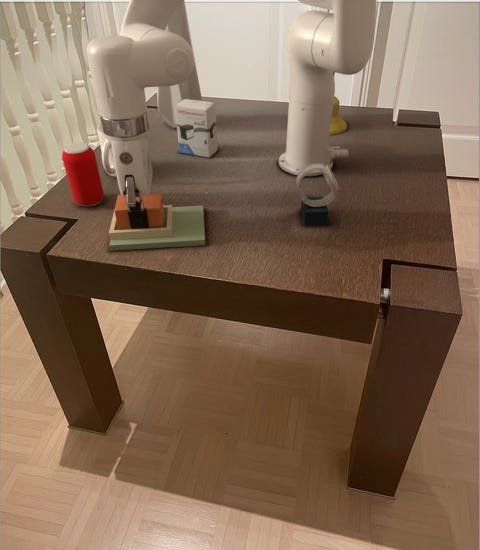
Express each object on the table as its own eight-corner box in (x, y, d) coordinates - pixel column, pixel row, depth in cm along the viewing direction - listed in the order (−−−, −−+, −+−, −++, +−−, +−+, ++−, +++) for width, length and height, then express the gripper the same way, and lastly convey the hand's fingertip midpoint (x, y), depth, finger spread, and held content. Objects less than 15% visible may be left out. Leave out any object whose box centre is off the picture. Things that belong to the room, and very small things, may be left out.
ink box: (178, 152, 113) (173, 105, 105) (187, 145, 116) (183, 98, 109) (209, 158, 110) (207, 109, 103) (218, 150, 114) (216, 102, 106)
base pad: (203, 210, 92) (202, 198, 90) (205, 245, 83) (204, 232, 81) (118, 215, 91) (115, 203, 89) (110, 250, 82) (107, 238, 80)
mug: (125, 188, 99) (117, 143, 93) (91, 184, 101) (80, 139, 94) (147, 164, 108) (141, 121, 102) (116, 160, 110) (107, 118, 103)
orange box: (163, 211, 88) (161, 192, 85) (162, 227, 83) (160, 208, 81) (121, 213, 87) (117, 194, 84) (118, 229, 83) (114, 210, 80)
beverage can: (85, 212, 92) (70, 156, 84) (69, 202, 95) (53, 147, 87) (111, 201, 95) (99, 146, 88) (94, 191, 98) (81, 137, 91)
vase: (201, 131, 123) (192, -11, 102) (159, 132, 123) (141, -11, 102) (205, 115, 132) (197, -19, 111) (165, 115, 133) (150, -18, 112)
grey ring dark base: (336, 225, 87) (344, 172, 80) (295, 226, 87) (299, 173, 80) (331, 209, 92) (338, 158, 85) (291, 210, 92) (295, 159, 85)
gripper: (144, 143, 67) (159, 244, 79) (151, 103, 80) (163, 194, 92) (93, 146, 67) (115, 246, 78) (108, 105, 80) (125, 196, 91)
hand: (141, 217), depth 85 cm, fingers closed on orange box, 5 cm apart
